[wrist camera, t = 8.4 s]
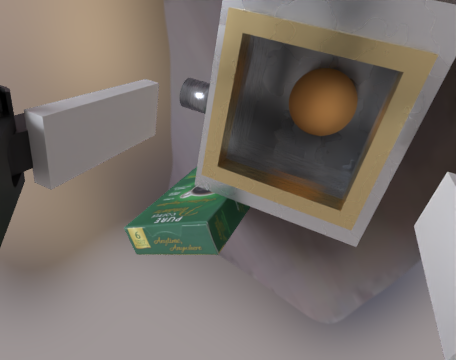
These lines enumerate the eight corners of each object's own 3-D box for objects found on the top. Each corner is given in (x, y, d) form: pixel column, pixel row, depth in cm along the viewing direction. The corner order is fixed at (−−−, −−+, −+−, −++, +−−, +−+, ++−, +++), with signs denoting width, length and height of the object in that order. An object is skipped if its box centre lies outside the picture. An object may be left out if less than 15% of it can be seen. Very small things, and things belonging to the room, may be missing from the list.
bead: (296, 56, 25) (303, 68, 21) (358, 69, 25) (378, 84, 21) (279, 116, 27) (282, 138, 23) (335, 128, 27) (349, 152, 23)
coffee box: (204, 186, 36) (133, 258, 25) (196, 163, 35) (119, 227, 24) (271, 178, 32) (222, 258, 21) (264, 152, 31) (210, 221, 20)
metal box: (228, -27, 26) (147, -57, 16) (437, 14, 22) (491, 7, 12) (204, 130, 33) (137, 175, 23) (359, 182, 29) (355, 261, 19)
